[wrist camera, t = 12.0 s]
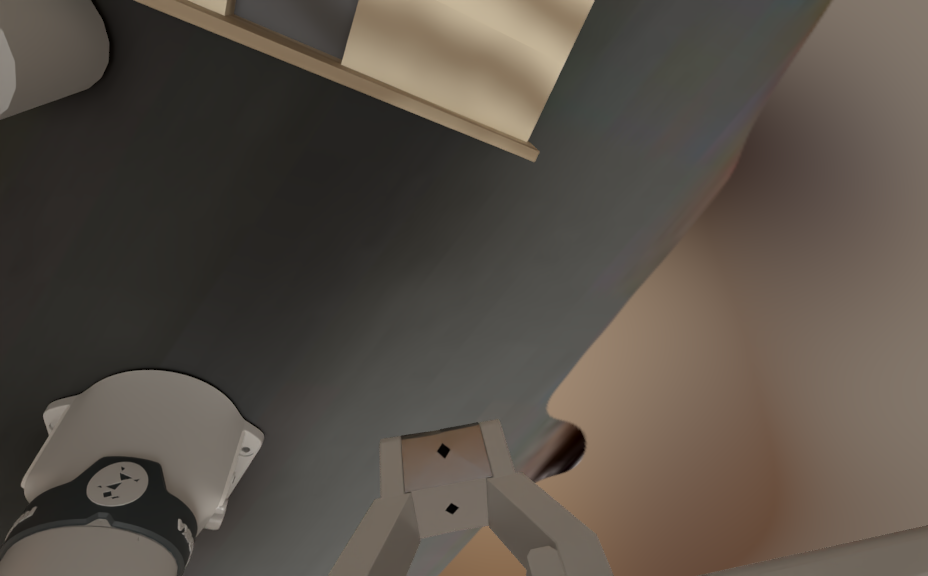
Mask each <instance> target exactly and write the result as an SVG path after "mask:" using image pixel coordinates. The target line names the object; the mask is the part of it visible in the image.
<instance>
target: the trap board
mask: <svg viewBox="0 0 928 576" xmlns="http://www.w3.org/2000/svg"><path fill="white" fill-rule="evenodd" d="M134 1H137V2H139V3H142V4H144V5H147V6H149V7H152V8H154V9H157V10H159V11H162V12H164V13H166V14H169V15H171V16H174V17H176V18H179V19H181V20H184V21H186V22H189V23H191V24H194V25H196V26H199V27H201V28H204V29H206V30H209V31H211V32H214V33H216V34H218V35H221V36H223V37H226V38H228V39H231V40H233V41H236V42H238V43H241V44H243V45H246V46H248V47H251V48H253V49H256V50H258V51H261V52H263V53H266V54H268V55H270V56H273V57H275V58H278V59H280V60H283V61H285V62H288V63H290V64H293V65H295V66H298V67H300V68H303V69H305V70H308V71H310V72H313V73H315V74H318V75H320V76H322V77H325V78H327V79H330V80H332V81H335V82H337V83H340V84H342V85H345V86H347V87H350V88H352V89H355V90H357V91H360V92H362V93H365V94H367V95H370V96H372V97H374V98H377V99H379V100H382V101H384V102H387V103H389V104H392V105H394V106H397V107H399V108H402V109H404V110H407V111H409V112H412V113H414V114H417V115H419V116H422V117H424V118H426V119H429V120H431V121H434V122H436V123H439V124H441V125H444V126H446V127H449V128H451V129H454V130H456V131H459V132H461V133H464V134H466V135H469V136H471V137H474V138H476V139H478V140H481V141H483V142H486V143H488V144H491V145H493V146H496V147H498V148H501V149H503V150H506V151H508V152H511V153H513V154H516V155H518V156H521V157H523V158H526V159H528V160H530V161H533V162H535V160H536V158H537V156H538V154H539V151H538V150H537V149H536V148H535V147H534V146H533V145H532V144H531V143H530V142H529V141H528V139H529V137H530V135H531V133H532V131H533V129H534V127H535V125H536V123H537V120H538V118H539V116H540V114H541V112H542V110H543V108H544V106H545V104H546V101H547V99H548V97H549V95H550V93H551V91H552V89H553V87H554V85H555V83H556V80H557V78H558V76H559V74H560V72H561V70H562V68H563V66H564V64H565V61H566V59H567V57H568V55H569V53H570V51H571V49H572V47H573V45H574V42H575V40H576V38H577V36H578V34H579V32H580V30H581V28H582V26H583V24H584V21H585V19H586V17H587V15H588V13H589V11H590V9H591V7H592V5H593V2H594V0H134Z"/></svg>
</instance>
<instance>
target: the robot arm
mask: <svg viewBox="0 0 928 576" xmlns="http://www.w3.org/2000/svg"><path fill="white" fill-rule="evenodd" d="M43 418H44V422H45V425H46V428H47V431H48V434H49V437H48V438H47V440H46V441H45V443H44V445H43V446H42V448H41V449H40V451H39V453H38V454H37V456H36V458H35V459H34V461H33V462H32V464H31V466H30V467H29V469H28V471H27V472H26V474H25V476H24V478H23V480H22V482H21V487H22V488H24V494H25V498H26V499H27V501H28V502H29V505H28V506H27V508H26V509H25V511H24V512H23V514H22V515H21V516H20V517H19V519H18V520H16V522H15V523H14V525H13V526H12V528H11V529H10V531H9V533H8V534H7V536H6V539H5V542H4V544H3V546H2V547H1V549H0V576H182V575H183V572H184V570H185V568H186V566H187V565H188V563H189V560H190V557H191V554H192V552H193V547H194V546H193V544H194V541H195V538H196V537H197V536H198V534H199V533H200V532H201V530H202V529H203V528H205V529H206V528H207V529H211V530H218V529H219V527H220V525H221V523H222V520H223V518H224V515H225V512H226V506H227V503H228V497H229V496H230V494H231V493H232V491H233V489H234V488H235V486H236V485H237V483H238V482H239V480H240V479H241V477H242V476H243V474H244V472H245V471H246V469H247V468H248V466H249V465H250V463H251V462H252V460H253V459H254V457H255V455H256V454H257V452H258V451H259V449H260V448H261V446H262V443H263V441H264V434H263V433H262V432H261V431H260V430H259V429H258V428H256V427H255V426H253V425H252V424H250V423H249V422H247V421H245V420H244V419H243V417H242V416H241V415H240V413H239V412H238V410H237V409H236V407H235V406H234V404H233V403H232V402H231V401H230V400H229V399H228V398H227V397H226V396H225V395H224V394H223V393H221V392H220V391H219V390H217V389H216V388H214V387H212V386H211V385H209V384H207V383H205V382H203V381H201V380H198V379H196V378H193V377H190V376H187V375H183V374H179V373H174V372H168V371H160V370H137V371H129V372H124V373H119V374H116V375H113V376H110V377H107V378H105V379H103V380H101V381H99V382H97V383H96V384H94V385H93V386H91V387H90V388H89V389H87V390H86V391H84V392H83V393H81V394H79V395H76V396H71V397H67V398H63V399H59V400H56V401H54V402H52V403H50V404H49V405H48V407H47V408H46V410H45V412H44V414H43ZM379 448H380V494H381V498H379V499H374V501H373V503H372V504H371V506H370V508H369V509H368V511H367V513H366V514H365V516H364V517H363V519H362V521H361V522H360V524H359V526H358V527H357V529H356V530H355V532H354V534H353V535H352V537H351V539H350V540H349V542H348V543H347V545H346V547H345V548H344V550H343V552H342V553H341V555H340V557H339V558H338V560H337V561H336V563H335V565H334V566H333V568H332V570H331V571H330V573H329V574H328V576H406V575H407V572H408V570H409V568H410V565H411V563H412V560H413V558H414V556H415V553H416V551H417V549H418V546H419V544H420V539H422V538H427V537H431V536H436V535H440V534H445V533H449V532H453V531H459V530H465V529H471V528H477V527H483V526H489V527H490V529H491V530H492V531H493V532H494V533H495V534H496V535H497V536H498V538H499V539H500V540H501V541H502V542H503V543H504V545H505V546H506V547H507V548H508V549H509V550H510V551H511V552H512V554H513V555H514V556H515V557H516V558H517V559H518V560H519V561H520V563H521V564H522V565H523V566H524V567H525V568H526V570H527V574H526V576H614V575H613V573H612V570H611V568H610V566H609V563H608V561H607V558H606V556H605V554H604V552H603V549H602V547H601V544H600V542H599V539H598V537H597V535H596V534H595V533H594V532H593V531H592V530H590V529H589V528H588V527H587V526H586V525H584V524H583V523H582V522H581V521H580V520H578V519H577V518H576V517H574V515H572V514H571V513H570V512H569V511H568V510H566V509H565V508H564V507H563V506H562V505H560V504H559V503H558V502H557V501H556V500H554V499H553V498H552V497H551V496H550V495H548V494H547V493H546V492H545V491H544V490H542V489H541V488H540V487H539V486H538V485H536V484H535V483H534V482H533V481H532V480H530V479H529V478H528V477H527V476H526V475H524V474H523V473H522V472H519V473H516V472H515V469H514V465H513V462H512V459H511V456H510V452H509V449H508V446H507V443H506V439H505V436H504V433H503V430H502V426H501V423H500V421H499V420H498V419H496V420H490V421H484V422H479V423H478V422H477V423H471V424H466V425H461V426H455V427H450V428H444V429H440V430H436V431H430V432H423V433H416V434H409V435H402V436H397V437H390V438H384V439H380V445H379ZM454 529H455V530H454ZM699 576H928V525H926V526H922V527H917V528H913V529H908V530H903V531H899V532H894V533H890V534H885V535H881V536H876V537H871V538H867V539H862V540H858V541H853V542H849V543H845V544H840V545H836V546H831V547H826V548H822V549H817V550H812V551H808V552H804V553H799V554H794V555H790V556H785V557H781V558H777V559H772V560H767V561H763V562H758V563H754V564H749V565H744V566H740V567H736V568H731V569H727V570H722V571H717V572H713V573H708V574H704V575H699Z"/></svg>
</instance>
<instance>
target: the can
mask: <svg viewBox="0 0 928 576" xmlns="http://www.w3.org/2000/svg"><path fill="white" fill-rule="evenodd" d="M108 62H109V40H108V36H107V33H106V29H105V26H104V22H103V20H102V18H101V16H100V15H99V13H98V11H97V10H96V8H95V6H94V5H93V3H92V1H91V0H0V120H1V119H4V118H7V117H9V116H12V115H15V114H18V113H21V112H24V111H26V110H29V109H32V108H35V107H38V106H41V105H43V104H46V103H49V102H52V101H55V100H58V99H61V98H63V97H66V96H69V95H72V94H75V93H78V92H80V91H83V90H86V89H89V88H90V87H91V86H92V85H93V84H95V83H96V82H97V81H98V80H99V79H101V78H102V75H103V73H104V71H105V69H106V67H107V64H108Z"/></svg>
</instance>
